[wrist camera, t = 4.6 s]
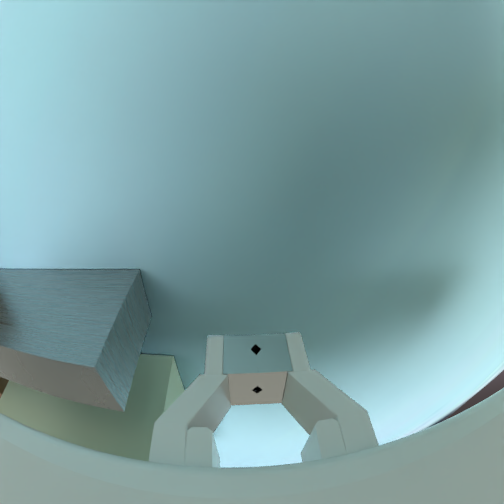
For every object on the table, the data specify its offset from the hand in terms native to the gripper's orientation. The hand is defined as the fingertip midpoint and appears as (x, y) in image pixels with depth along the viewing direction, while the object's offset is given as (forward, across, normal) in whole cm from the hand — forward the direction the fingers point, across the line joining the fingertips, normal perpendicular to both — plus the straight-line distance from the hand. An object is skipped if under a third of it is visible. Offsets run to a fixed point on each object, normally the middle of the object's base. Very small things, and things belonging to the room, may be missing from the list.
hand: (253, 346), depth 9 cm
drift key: (+3, +10, 0) cm, 11 cm away
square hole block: (+3, +9, +9) cm, 13 cm away
